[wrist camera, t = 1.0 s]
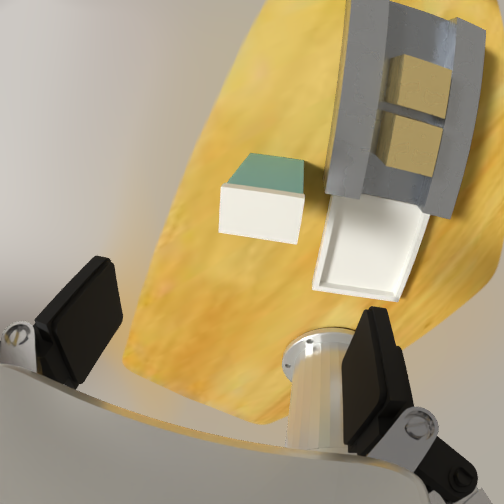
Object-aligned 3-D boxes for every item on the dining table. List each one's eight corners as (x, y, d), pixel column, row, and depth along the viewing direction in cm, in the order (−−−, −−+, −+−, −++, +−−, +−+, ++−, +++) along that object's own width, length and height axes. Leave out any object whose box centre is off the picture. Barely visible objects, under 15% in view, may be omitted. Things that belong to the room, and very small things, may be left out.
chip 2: (416, 164, 25) (432, 177, 21) (375, 154, 25) (386, 165, 22) (425, 122, 23) (443, 128, 19) (383, 110, 23) (396, 114, 20)
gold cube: (426, 113, 22) (444, 118, 19) (384, 101, 23) (397, 104, 19) (433, 71, 20) (452, 70, 17) (390, 58, 21) (404, 54, 17)
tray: (395, 294, 34) (398, 302, 32) (312, 281, 35) (312, 289, 33) (426, 205, 28) (431, 211, 27) (332, 186, 29) (333, 191, 28)
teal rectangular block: (300, 191, 30) (296, 244, 21) (246, 183, 30) (218, 232, 21) (305, 159, 28) (304, 198, 19) (249, 151, 29) (221, 186, 20)
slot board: (435, 203, 28) (450, 219, 24) (322, 179, 29) (324, 193, 26) (466, 34, 19) (485, 30, 15) (346, -3, 20) (352, -16, 16)
